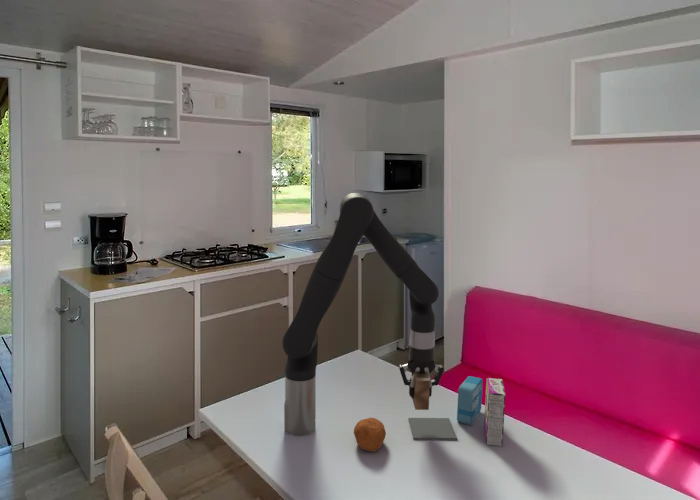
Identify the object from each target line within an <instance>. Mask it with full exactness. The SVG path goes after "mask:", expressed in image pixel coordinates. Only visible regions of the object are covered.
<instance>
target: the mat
mask: <svg viewBox="0 0 700 500" xmlns="http://www.w3.org/2000/svg"><path fill="white" fill-rule="evenodd" d="M408 423H409V428H410V433H411V435H412V438H413V440H420V441H421V440H425V441H426V440H427V441H429V440H430V441H433V440H435V441H436V440H438V441H441V440H442V441H449V440H450V441H451V440H452V441H457V440H458V436H457V433H456V432H455V431H456V430H455V429H454V427H453V424H452V422H451V420H450V418H449V417H408Z"/></svg>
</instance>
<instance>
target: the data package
mask: <svg viewBox="0 0 700 500" xmlns="http://www.w3.org/2000/svg"><path fill="white" fill-rule="evenodd" d="M483 383H484V381H483V378H482V377H481V378H480V377H475V376H471V375H469V376H467V377H466V379H464V381H463V382H462V383H461V384H460V385H459V387H458V392H457V412H456V421H457V422H458V423H462V424H465V425H469V426H471V425H473V424H474V422H475V421H476V419H477V417H479V414H480V413H481V410H482V399H483V387H484V386H483V385H484V384H483Z"/></svg>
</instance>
